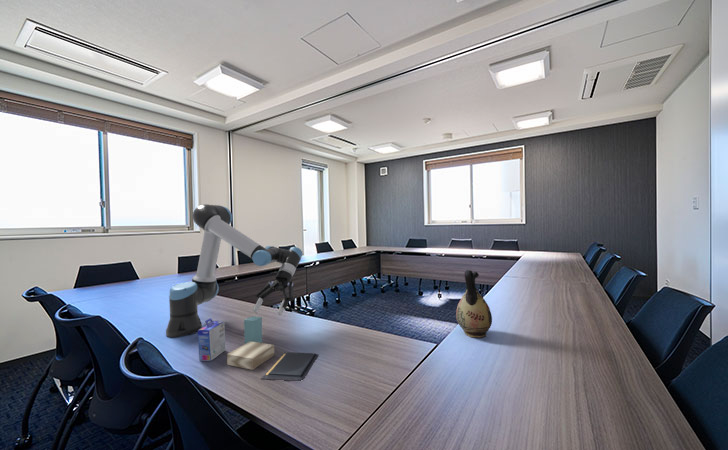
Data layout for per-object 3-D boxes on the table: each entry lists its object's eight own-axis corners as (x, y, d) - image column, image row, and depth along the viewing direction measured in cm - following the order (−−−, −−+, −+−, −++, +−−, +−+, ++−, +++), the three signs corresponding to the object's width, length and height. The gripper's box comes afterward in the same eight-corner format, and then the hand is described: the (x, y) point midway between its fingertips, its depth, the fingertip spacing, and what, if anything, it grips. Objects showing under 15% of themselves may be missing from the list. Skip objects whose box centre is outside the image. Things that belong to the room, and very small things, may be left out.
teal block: (244, 347, 119) (244, 319, 119) (253, 343, 124) (252, 316, 124) (254, 349, 117) (253, 321, 117) (262, 344, 122) (261, 317, 122)
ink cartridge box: (213, 349, 118) (213, 315, 118) (226, 350, 117) (225, 315, 117) (197, 361, 108) (196, 323, 108) (211, 361, 107) (210, 324, 107)
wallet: (301, 378, 92) (258, 375, 94) (301, 384, 92) (259, 381, 94) (320, 351, 112) (285, 349, 114) (320, 356, 112) (285, 353, 114)
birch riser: (227, 364, 105) (227, 354, 105) (250, 350, 116) (250, 341, 116) (252, 369, 101) (252, 358, 101) (274, 354, 112) (274, 345, 112)
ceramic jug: (461, 325, 139) (460, 265, 139) (495, 332, 130) (494, 268, 130) (450, 337, 126) (449, 270, 125) (487, 345, 117) (485, 273, 116)
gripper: (310, 279, 139) (293, 319, 126) (269, 277, 148) (249, 314, 134) (303, 270, 134) (286, 311, 120) (261, 268, 143) (240, 306, 129)
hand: (266, 312), depth 127 cm, fingers open, 13 cm apart
